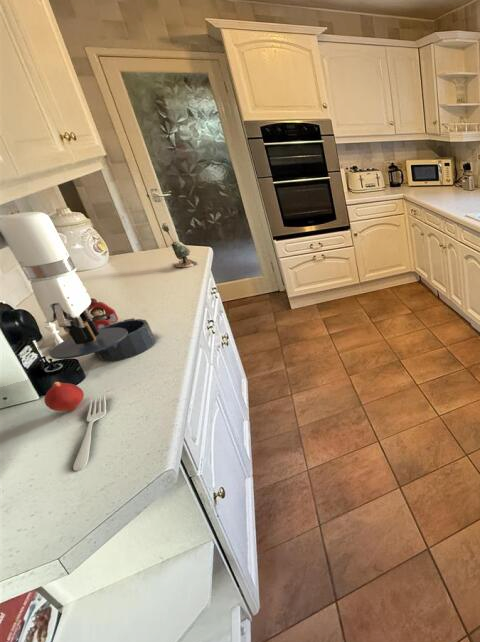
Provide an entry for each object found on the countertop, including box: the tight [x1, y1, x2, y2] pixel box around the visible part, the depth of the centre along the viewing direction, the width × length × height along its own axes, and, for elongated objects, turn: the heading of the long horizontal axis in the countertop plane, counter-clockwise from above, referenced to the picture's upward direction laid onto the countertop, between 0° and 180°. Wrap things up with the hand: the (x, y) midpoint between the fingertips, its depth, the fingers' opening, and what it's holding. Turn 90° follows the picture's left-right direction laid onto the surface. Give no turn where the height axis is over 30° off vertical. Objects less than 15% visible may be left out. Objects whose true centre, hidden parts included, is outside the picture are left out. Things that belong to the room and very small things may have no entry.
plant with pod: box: [161, 222, 198, 268], centre depth 175 cm, size 8×11×20 cm
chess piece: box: [42, 318, 65, 347], centre depth 113 cm, size 5×5×10 cm
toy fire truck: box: [62, 297, 119, 337], centre depth 123 cm, size 7×12×10 cm, turn 131°
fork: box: [72, 395, 107, 472], centre depth 83 cm, size 3×24×2 cm, turn 37°
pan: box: [94, 317, 156, 363], centre depth 113 cm, size 13×18×6 cm
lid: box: [48, 321, 128, 360], centre depth 95 cm, size 14×14×6 cm
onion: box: [44, 381, 85, 412], centre depth 89 cm, size 6×6×8 cm
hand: (88, 338), depth 95 cm, fingers closed on lid, 2 cm apart
